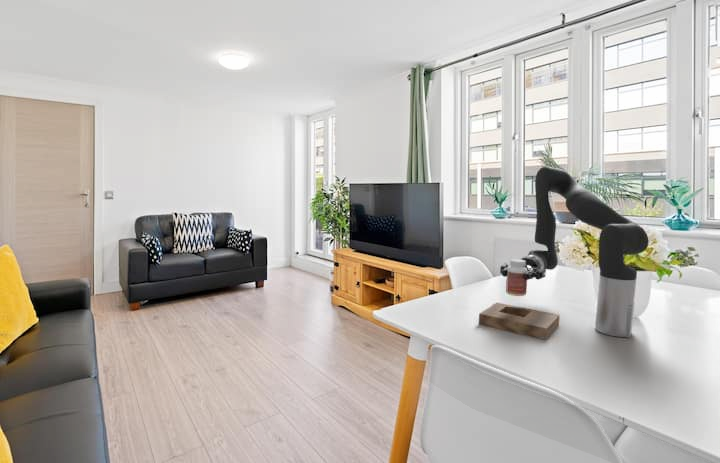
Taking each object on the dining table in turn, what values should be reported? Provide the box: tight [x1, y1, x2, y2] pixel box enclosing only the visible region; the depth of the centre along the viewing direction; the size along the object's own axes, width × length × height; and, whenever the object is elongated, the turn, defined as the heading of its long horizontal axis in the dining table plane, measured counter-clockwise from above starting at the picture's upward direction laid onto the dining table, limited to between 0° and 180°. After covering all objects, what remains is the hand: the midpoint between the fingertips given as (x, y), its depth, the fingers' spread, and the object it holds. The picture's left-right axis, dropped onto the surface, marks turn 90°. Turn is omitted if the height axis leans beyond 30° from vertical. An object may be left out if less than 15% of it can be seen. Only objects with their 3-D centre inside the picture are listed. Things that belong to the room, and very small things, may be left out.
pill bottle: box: [505, 258, 528, 297], centre depth 125 cm, size 6×6×11 cm
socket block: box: [478, 302, 560, 341], centre depth 124 cm, size 20×16×4 cm
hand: (514, 275), depth 123 cm, fingers closed on pill bottle, 6 cm apart
